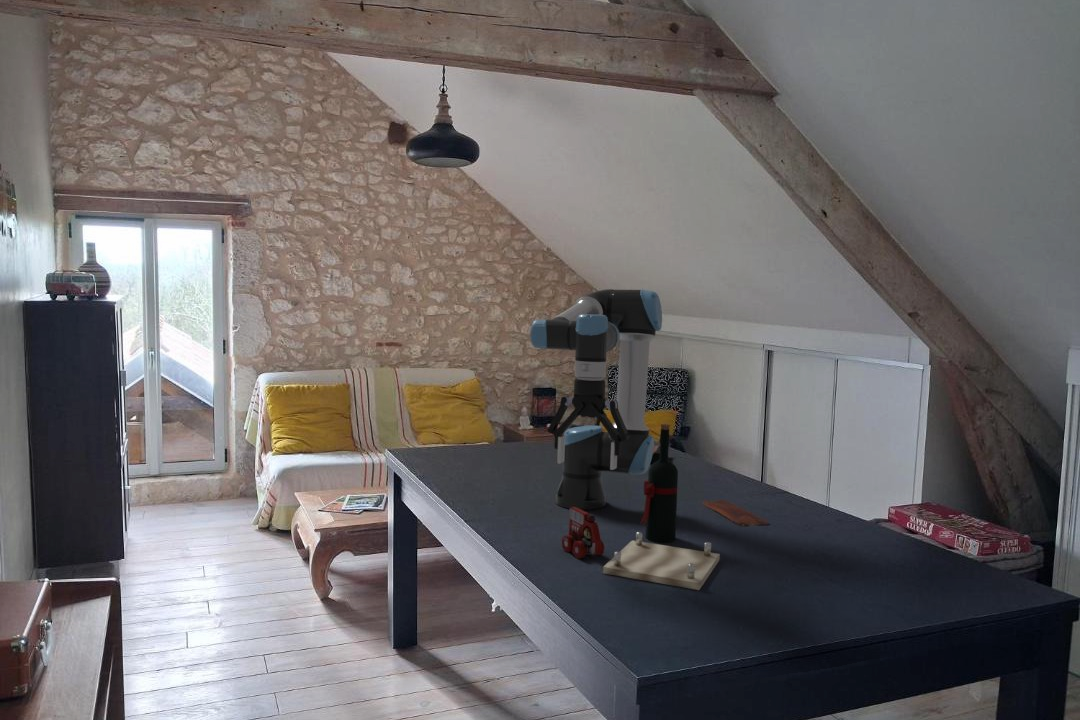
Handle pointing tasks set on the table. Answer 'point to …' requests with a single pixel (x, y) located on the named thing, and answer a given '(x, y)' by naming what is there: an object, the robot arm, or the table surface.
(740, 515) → the wooden tablet
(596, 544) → the toy fire truck
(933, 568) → the table surface
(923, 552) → the table surface
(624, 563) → the standoff plate
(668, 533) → the wine bottle
